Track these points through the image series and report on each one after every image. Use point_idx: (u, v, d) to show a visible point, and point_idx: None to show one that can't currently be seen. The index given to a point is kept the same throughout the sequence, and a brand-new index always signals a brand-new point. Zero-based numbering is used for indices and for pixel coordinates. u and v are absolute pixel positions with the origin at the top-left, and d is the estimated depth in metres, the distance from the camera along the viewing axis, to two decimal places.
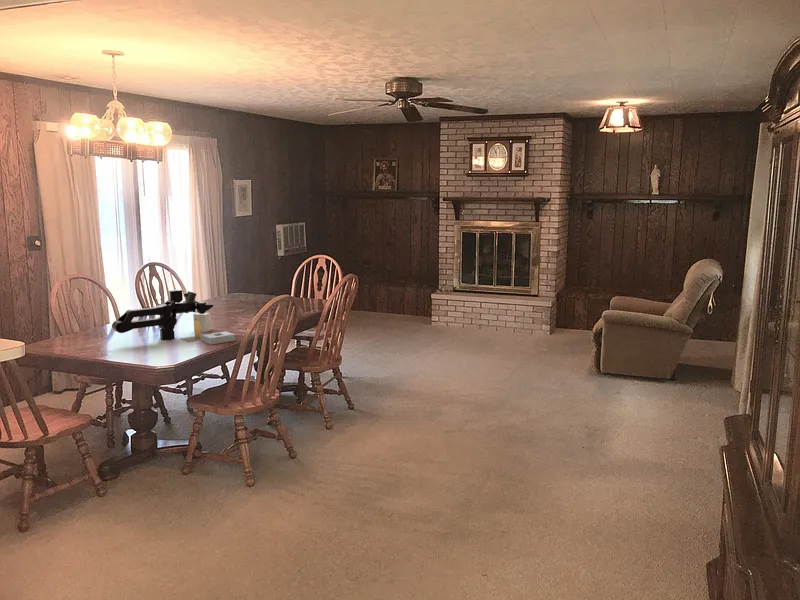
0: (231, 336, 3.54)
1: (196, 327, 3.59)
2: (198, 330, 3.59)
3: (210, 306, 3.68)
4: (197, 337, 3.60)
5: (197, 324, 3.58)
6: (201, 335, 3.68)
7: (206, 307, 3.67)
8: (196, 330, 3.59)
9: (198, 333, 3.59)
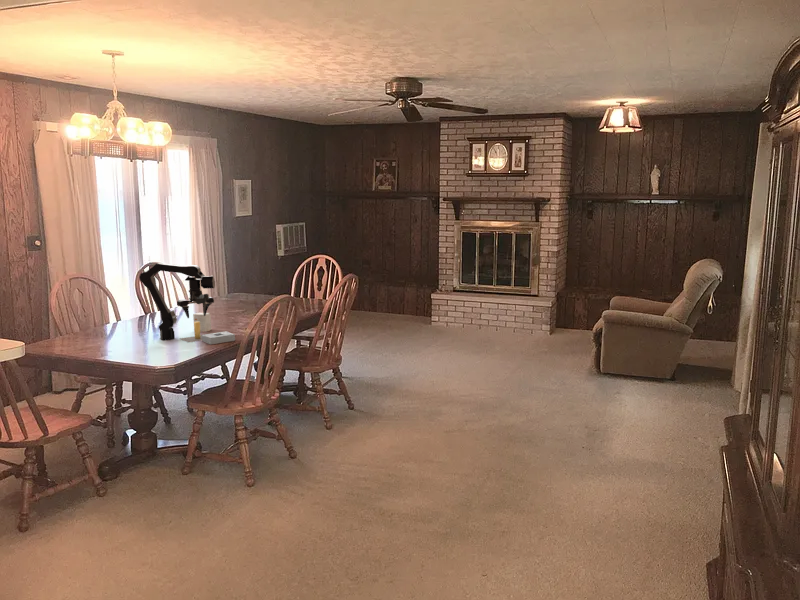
0: (231, 336, 3.54)
1: (196, 327, 3.59)
2: (198, 330, 3.59)
3: (186, 314, 3.55)
4: (197, 337, 3.60)
5: (197, 324, 3.58)
6: (201, 335, 3.68)
7: None
8: (196, 330, 3.59)
9: (198, 333, 3.59)
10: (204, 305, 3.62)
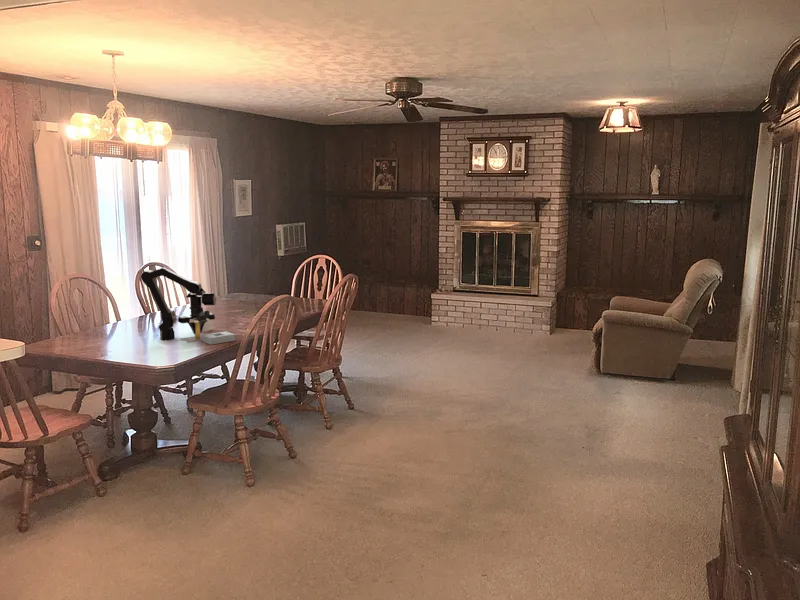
0: (231, 336, 3.54)
1: (196, 327, 3.59)
2: (198, 330, 3.59)
3: (192, 330, 3.59)
4: (197, 337, 3.60)
5: (197, 324, 3.58)
6: (201, 335, 3.68)
7: (191, 325, 3.58)
8: (196, 330, 3.59)
9: (198, 333, 3.59)
10: (200, 322, 3.61)
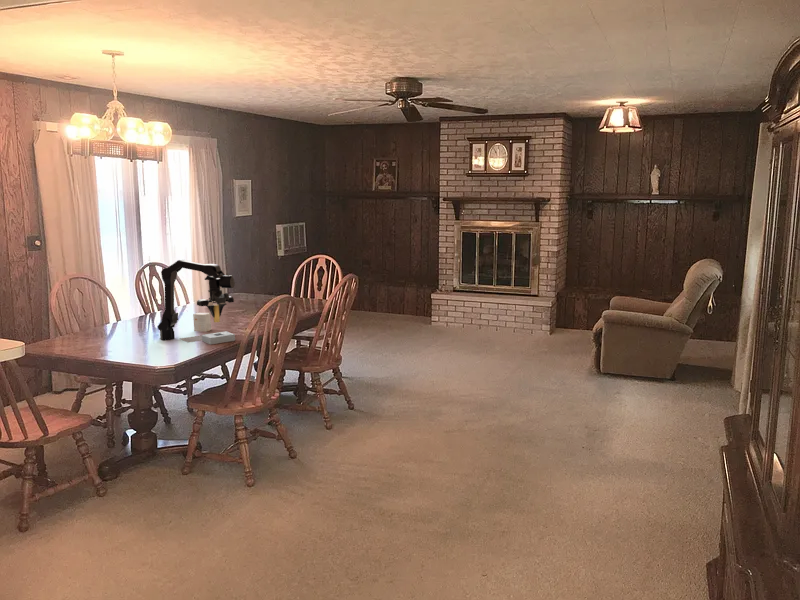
0: (231, 336, 3.54)
1: (215, 310, 3.51)
2: (217, 313, 3.52)
3: (211, 313, 3.52)
4: (216, 320, 3.52)
5: (216, 307, 3.51)
6: (201, 335, 3.68)
7: (210, 309, 3.51)
8: (215, 313, 3.52)
9: (217, 316, 3.52)
10: (219, 305, 3.54)
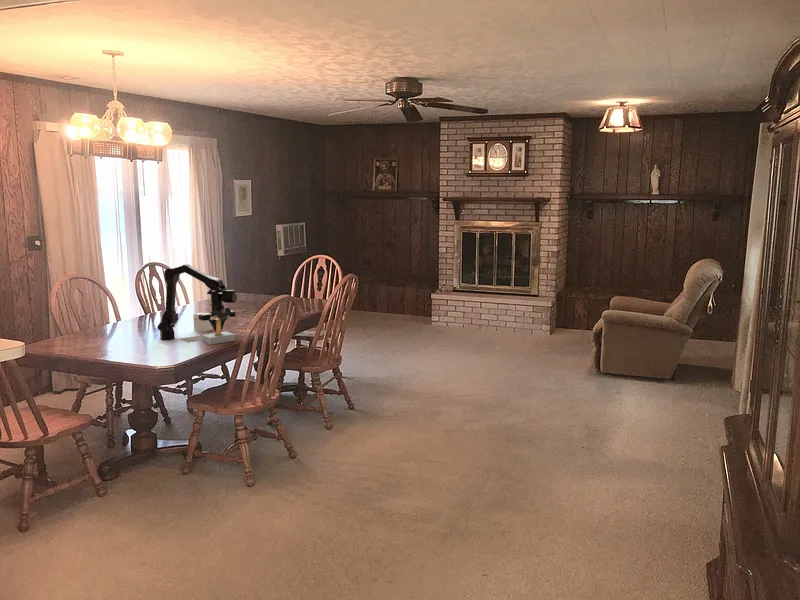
0: (231, 336, 3.54)
1: (217, 324, 3.52)
2: (219, 327, 3.53)
3: (213, 328, 3.52)
4: (218, 335, 3.53)
5: (218, 321, 3.52)
6: (201, 335, 3.68)
7: (212, 323, 3.52)
8: (217, 327, 3.53)
9: (219, 330, 3.53)
10: None
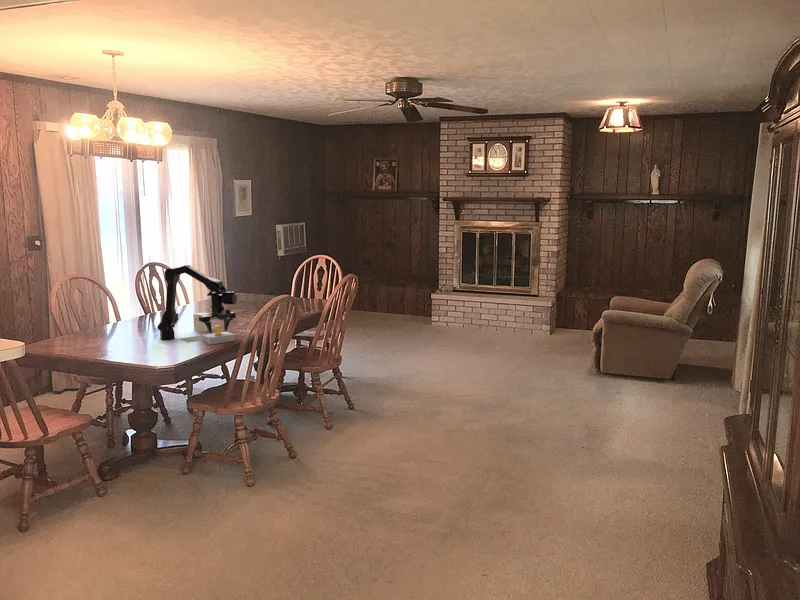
0: (231, 336, 3.54)
1: (217, 330, 3.53)
2: (219, 333, 3.53)
3: (209, 330, 3.51)
4: None
5: (218, 327, 3.53)
6: (201, 335, 3.68)
7: (207, 325, 3.50)
8: (217, 333, 3.53)
9: None
10: (225, 321, 3.57)
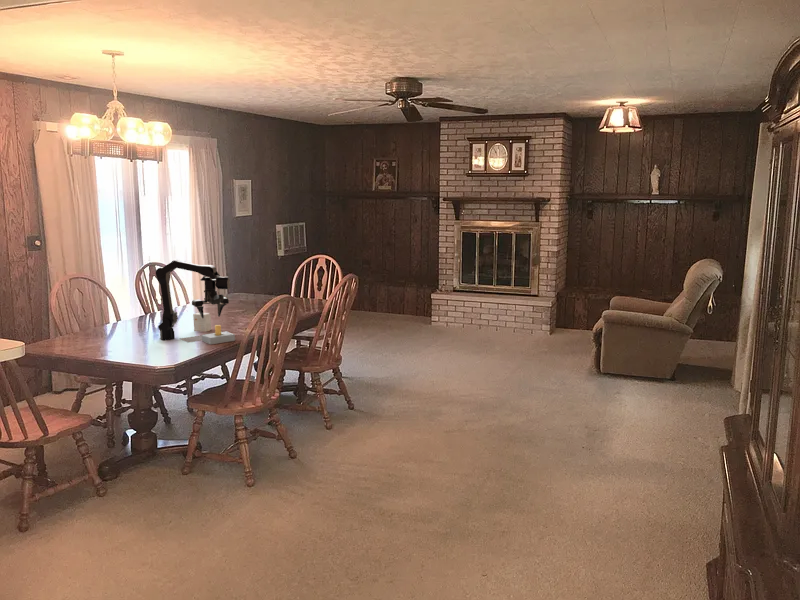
0: (231, 336, 3.54)
1: (217, 330, 3.53)
2: (219, 333, 3.53)
3: (201, 314, 3.54)
4: None
5: (218, 327, 3.53)
6: (201, 335, 3.68)
7: (200, 310, 3.53)
8: (217, 333, 3.53)
9: None
10: (219, 306, 3.60)
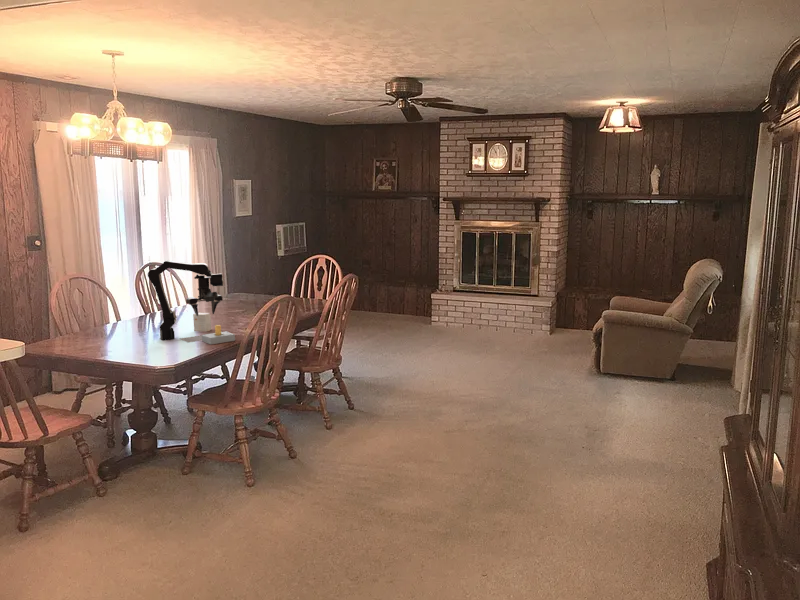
0: (231, 336, 3.54)
1: (217, 330, 3.53)
2: (219, 333, 3.53)
3: (195, 312, 3.58)
4: None
5: (218, 327, 3.53)
6: (201, 335, 3.68)
7: (194, 307, 3.58)
8: (217, 333, 3.53)
9: None
10: (213, 303, 3.65)
